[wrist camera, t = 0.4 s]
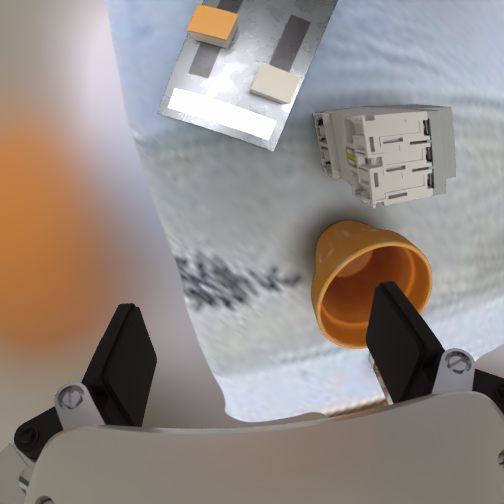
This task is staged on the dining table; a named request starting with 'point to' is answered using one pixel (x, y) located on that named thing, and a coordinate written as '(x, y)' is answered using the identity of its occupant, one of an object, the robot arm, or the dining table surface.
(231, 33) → the lever
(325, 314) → the flower pot
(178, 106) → the slotted slider board
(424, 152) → the circuit breaker
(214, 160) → the dining table surface
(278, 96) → the on lever
